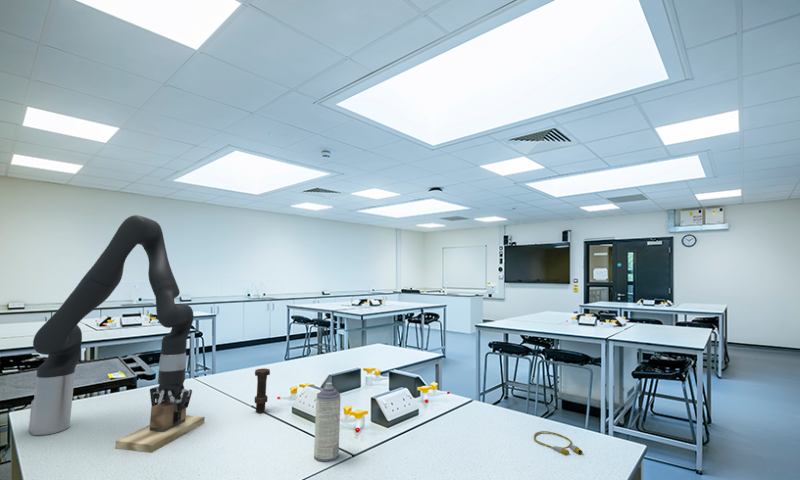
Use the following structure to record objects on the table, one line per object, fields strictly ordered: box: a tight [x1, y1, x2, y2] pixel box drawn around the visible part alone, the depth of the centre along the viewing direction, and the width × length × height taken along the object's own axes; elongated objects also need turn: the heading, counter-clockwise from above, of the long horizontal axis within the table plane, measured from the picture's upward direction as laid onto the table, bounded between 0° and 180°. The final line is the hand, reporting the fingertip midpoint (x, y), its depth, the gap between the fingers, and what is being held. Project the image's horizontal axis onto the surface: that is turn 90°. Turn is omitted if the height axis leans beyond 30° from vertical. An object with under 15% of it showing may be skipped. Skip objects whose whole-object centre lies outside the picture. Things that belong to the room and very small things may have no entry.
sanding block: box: [149, 399, 187, 432], centre depth 123 cm, size 5×9×7 cm, turn 169°
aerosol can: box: [313, 382, 341, 463], centre depth 110 cm, size 7×7×20 cm
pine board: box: [115, 414, 206, 453], centre depth 121 cm, size 12×22×2 cm, turn 170°
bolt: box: [254, 367, 271, 414], centre depth 142 cm, size 6×5×15 cm
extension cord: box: [533, 430, 583, 456], centre depth 120 cm, size 12×16×2 cm
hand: (168, 421), depth 123 cm, fingers closed on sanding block, 5 cm apart
